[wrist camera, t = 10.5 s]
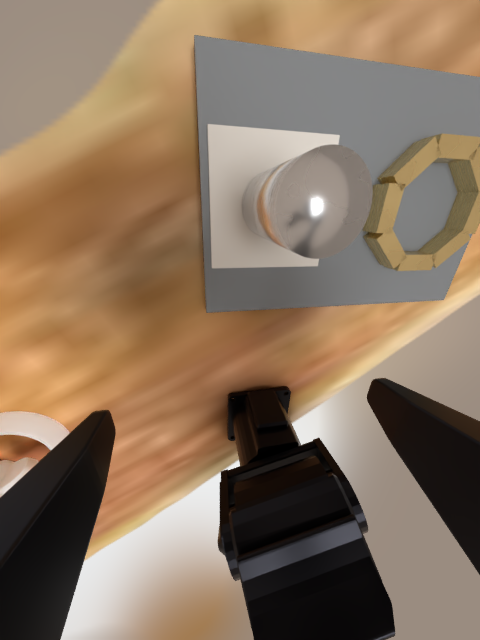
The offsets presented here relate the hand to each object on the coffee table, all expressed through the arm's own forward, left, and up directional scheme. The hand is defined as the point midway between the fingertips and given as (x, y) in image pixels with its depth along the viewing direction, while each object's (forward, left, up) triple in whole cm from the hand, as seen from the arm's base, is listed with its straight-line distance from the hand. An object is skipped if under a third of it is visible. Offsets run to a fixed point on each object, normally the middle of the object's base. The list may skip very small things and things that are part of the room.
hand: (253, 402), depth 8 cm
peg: (+6, -3, -11) cm, 13 cm away
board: (+6, -10, -12) cm, 17 cm away
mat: (+6, -3, -11) cm, 13 cm away
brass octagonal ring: (+6, -15, -11) cm, 20 cm away
